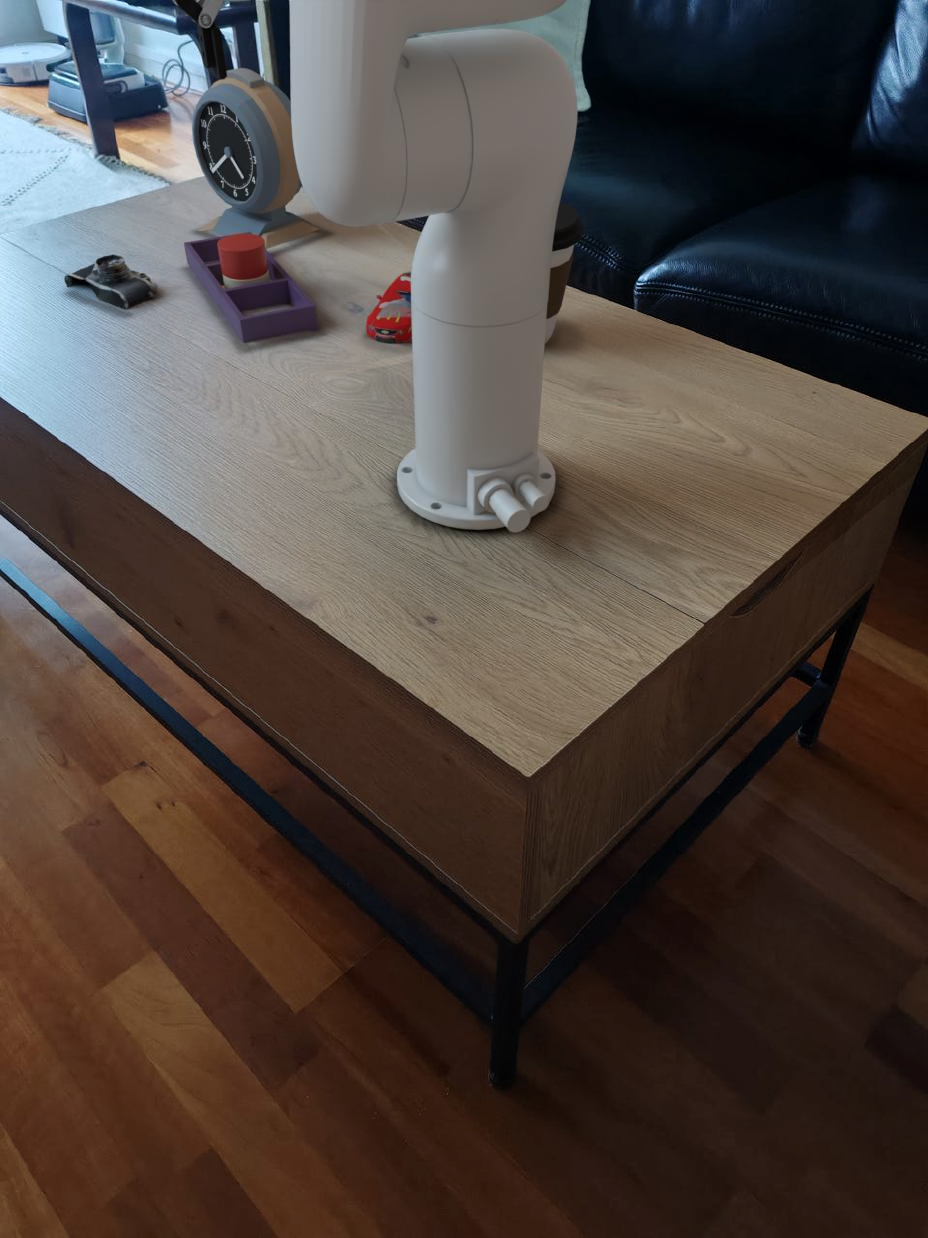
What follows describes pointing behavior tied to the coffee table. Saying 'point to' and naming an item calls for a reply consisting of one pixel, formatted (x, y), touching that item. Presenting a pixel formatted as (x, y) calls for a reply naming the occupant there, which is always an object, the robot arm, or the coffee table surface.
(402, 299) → the race car
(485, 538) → the coffee table surface
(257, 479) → the coffee table surface
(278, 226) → the alarm clock
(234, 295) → the board
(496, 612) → the coffee table surface
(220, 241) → the cylinder
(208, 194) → the coffee table surface
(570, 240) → the coffee cup
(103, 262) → the camera
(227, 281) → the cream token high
